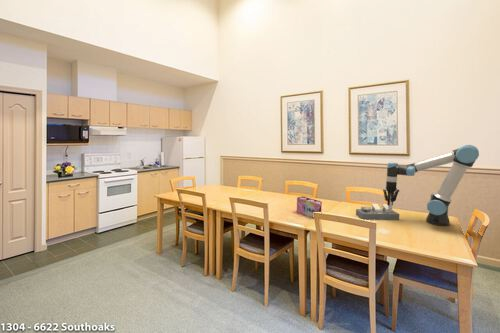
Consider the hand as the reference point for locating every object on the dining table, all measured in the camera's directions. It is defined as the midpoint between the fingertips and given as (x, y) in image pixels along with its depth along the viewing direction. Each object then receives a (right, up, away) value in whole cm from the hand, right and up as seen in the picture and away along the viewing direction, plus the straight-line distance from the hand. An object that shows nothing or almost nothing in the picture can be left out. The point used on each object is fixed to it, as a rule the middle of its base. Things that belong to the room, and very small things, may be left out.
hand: (389, 209), depth 216 cm
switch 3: (0, -1, +5) cm, 5 cm away
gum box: (-65, -7, +12) cm, 66 cm away
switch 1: (-18, 0, +5) cm, 18 cm away
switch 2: (-9, 0, +4) cm, 10 cm away
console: (-9, -7, +4) cm, 12 cm away
